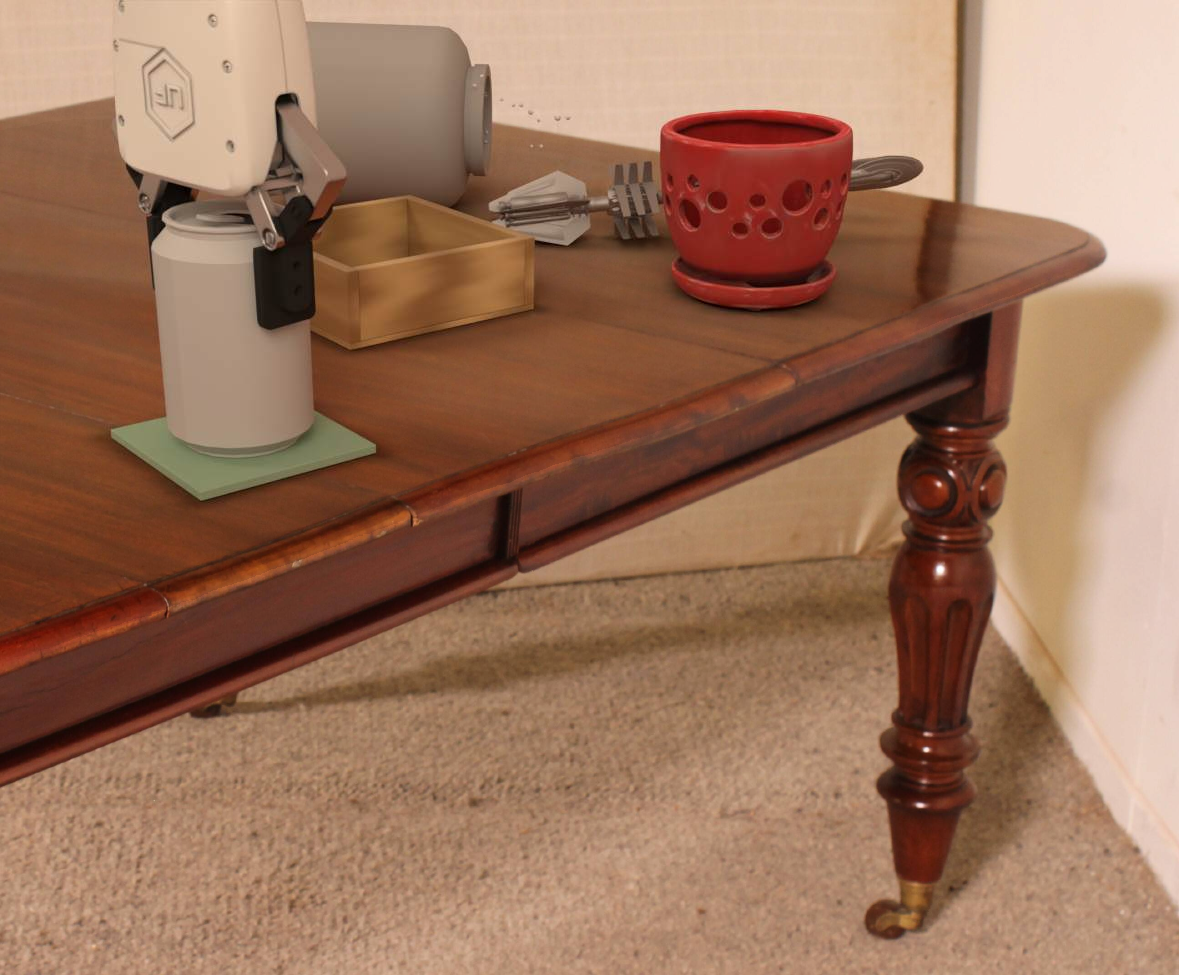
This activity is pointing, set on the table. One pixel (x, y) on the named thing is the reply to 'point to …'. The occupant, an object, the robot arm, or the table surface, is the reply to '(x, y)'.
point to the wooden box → (414, 271)
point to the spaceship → (638, 199)
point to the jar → (402, 109)
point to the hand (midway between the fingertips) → (233, 302)
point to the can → (225, 338)
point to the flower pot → (754, 204)
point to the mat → (234, 474)
